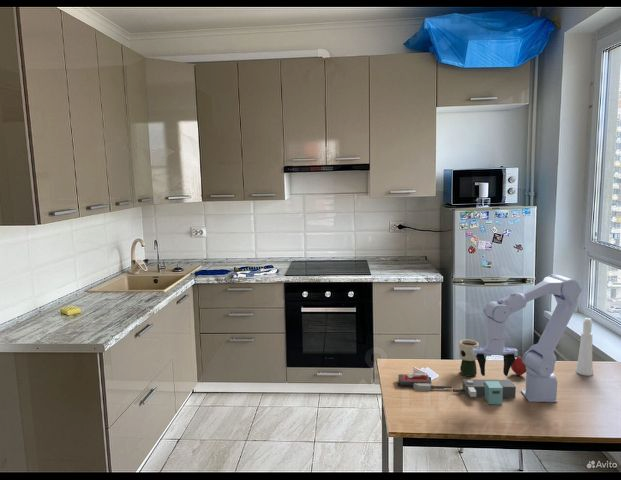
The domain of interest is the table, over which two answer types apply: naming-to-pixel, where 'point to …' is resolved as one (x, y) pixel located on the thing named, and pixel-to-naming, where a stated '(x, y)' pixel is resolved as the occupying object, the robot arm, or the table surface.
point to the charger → (493, 392)
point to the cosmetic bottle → (585, 350)
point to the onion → (518, 366)
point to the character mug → (468, 357)
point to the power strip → (479, 386)
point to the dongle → (472, 391)
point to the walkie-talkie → (418, 382)
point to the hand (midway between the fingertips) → (494, 374)
